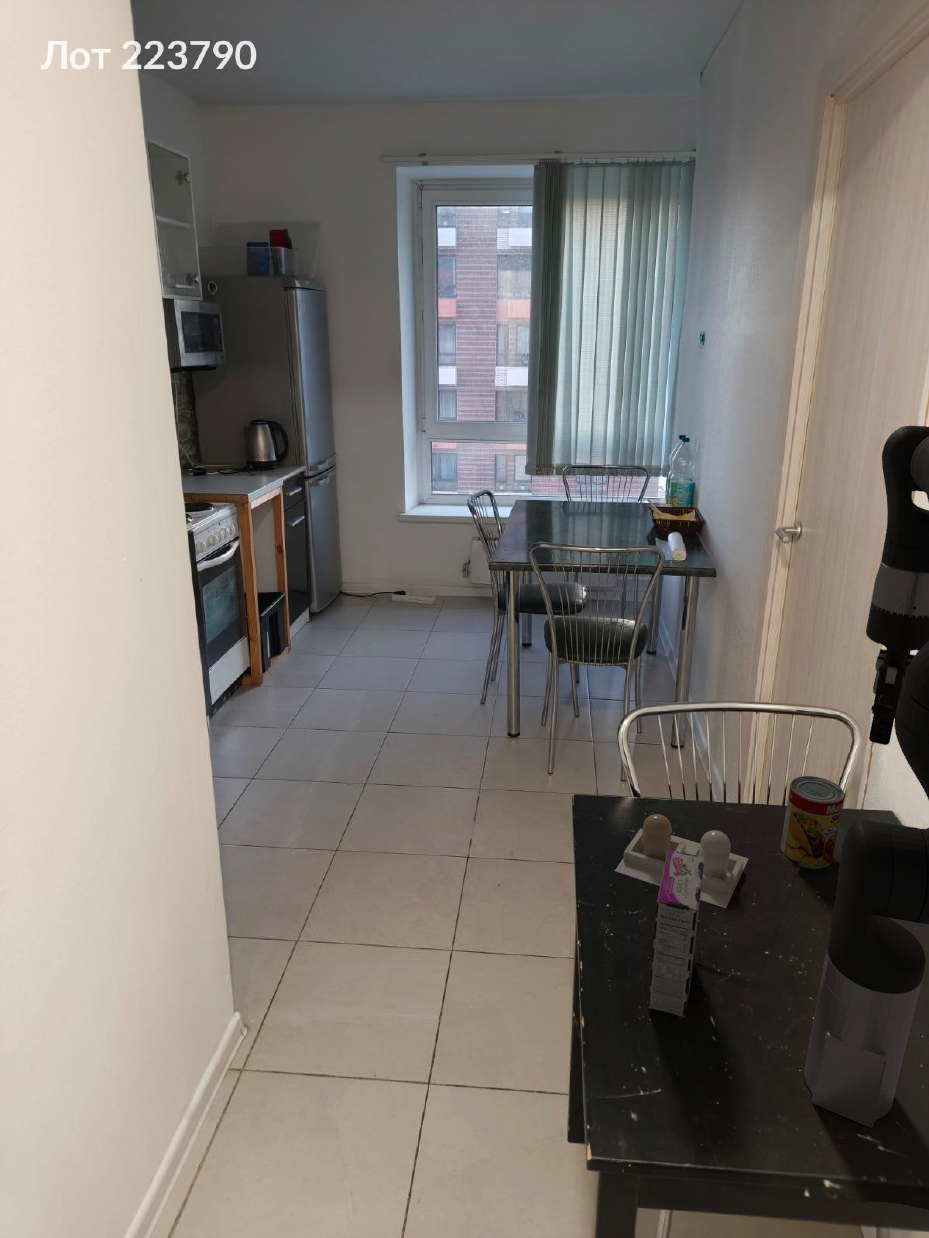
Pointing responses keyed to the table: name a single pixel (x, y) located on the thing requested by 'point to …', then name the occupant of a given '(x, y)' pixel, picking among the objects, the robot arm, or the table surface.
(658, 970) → the candy bar box
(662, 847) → the tan capsule
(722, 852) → the white capsule
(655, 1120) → the table surface
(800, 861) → the canned food
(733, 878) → the white holder tray
